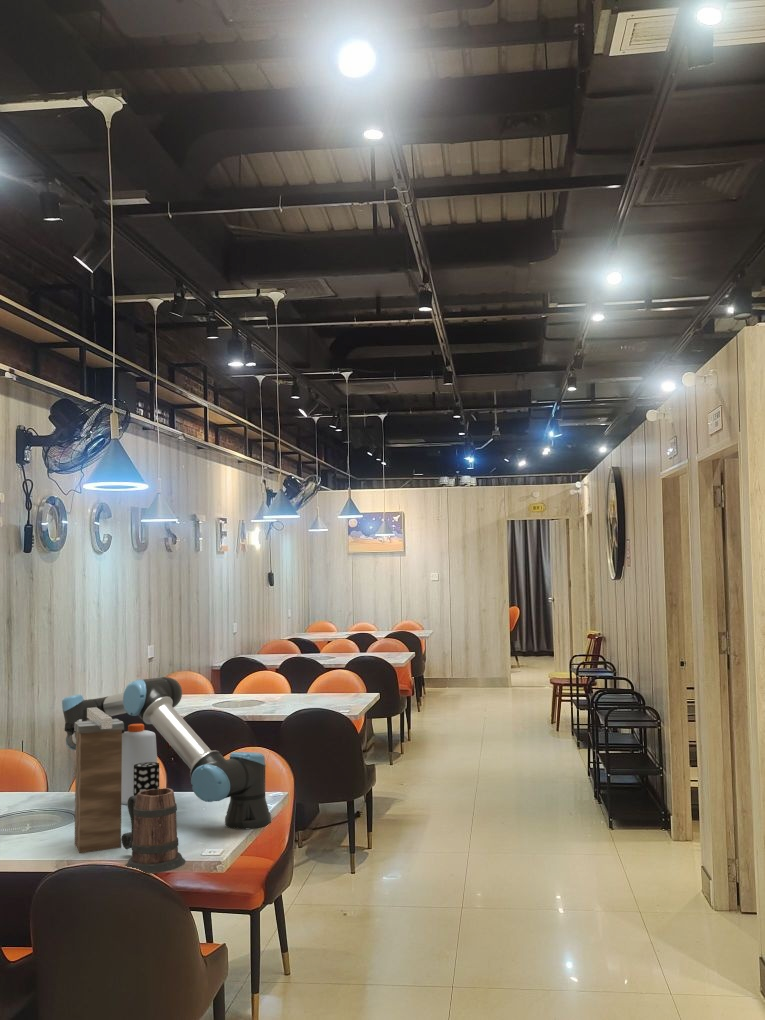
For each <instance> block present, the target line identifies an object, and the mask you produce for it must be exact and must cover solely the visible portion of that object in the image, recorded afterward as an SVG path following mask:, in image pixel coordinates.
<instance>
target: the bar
mask: <svg viewBox="0 0 765 1020" xmlns="http://www.w3.org/2000/svg"><path fill="white" fill-rule="evenodd" d="M87 718H88V719H90V720H89V721H92V722H93V723H95V724H96V725H97V726H98V727H99V728H101V729H110V728H112V719H113V717H112V716H111V717H110V716H109V715H107V714H106V713H104V712H103V711H101V710H100V709H98V708H97V707H94V708H87Z"/></svg>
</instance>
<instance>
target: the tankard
mask: <svg viewBox="0 0 765 1020" xmlns="http://www.w3.org/2000/svg"><path fill="white" fill-rule="evenodd" d="M127 811H128V814H129V817H130V825H131V832H125V833H122V834H121V846H123V849H124V850H129V849H131V856H130V857H129V859H128V860H127V863H125V865H124V866H127V867H132V868H136V869H139V870H141V871H143V872H145V873H148V875H150V874H160V873H165V872H170V871H174V870H177V869H178V868H180V867H181V868H182V866H184V865H185V864H186V859H185V858H184V857H183V856H182V854H181V853H180V852H179V848H178V847H179V837H178V828H177V827H178V826H177V825H178V823H177V821H178V820H177V811H178V805H177V803H176V798H175V793H174V789H172V788H168V787H167V788H159V789H150V790H145V791H141V792H139V793H138V794H137V795H135V796H131V797H130V798H129V799H128V805H127Z"/></svg>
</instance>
